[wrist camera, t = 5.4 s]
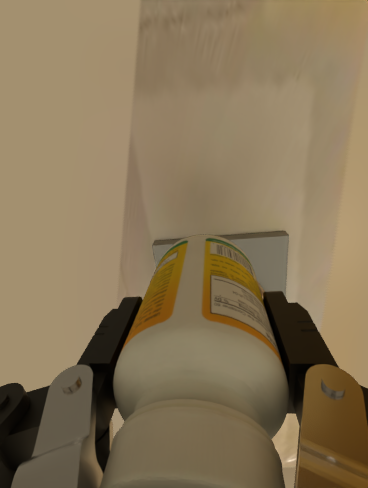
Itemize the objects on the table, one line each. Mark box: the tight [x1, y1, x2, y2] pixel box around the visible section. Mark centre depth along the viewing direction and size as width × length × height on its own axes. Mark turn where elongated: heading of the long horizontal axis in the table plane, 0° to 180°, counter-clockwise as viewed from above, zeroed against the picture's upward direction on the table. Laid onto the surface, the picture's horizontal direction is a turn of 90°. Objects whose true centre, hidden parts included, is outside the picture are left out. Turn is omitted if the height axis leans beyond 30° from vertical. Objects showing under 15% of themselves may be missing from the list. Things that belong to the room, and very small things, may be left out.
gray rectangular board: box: [152, 231, 289, 297], centre depth 33 cm, size 20×16×2 cm
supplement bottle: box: [99, 235, 289, 488], centre depth 9 cm, size 5×5×10 cm
